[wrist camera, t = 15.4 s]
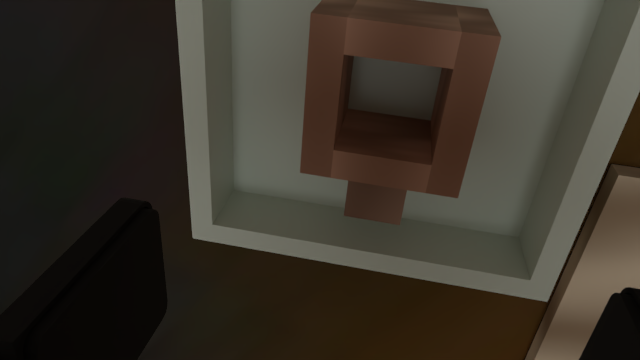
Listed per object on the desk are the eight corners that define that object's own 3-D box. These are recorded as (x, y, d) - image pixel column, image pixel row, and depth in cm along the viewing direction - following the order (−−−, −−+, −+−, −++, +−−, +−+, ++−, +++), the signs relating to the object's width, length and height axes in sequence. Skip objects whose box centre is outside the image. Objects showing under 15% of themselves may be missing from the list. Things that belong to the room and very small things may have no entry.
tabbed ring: (487, 8, 19) (501, 36, 15) (441, 196, 23) (443, 250, 20) (330, -11, 19) (310, 12, 16) (314, 176, 24) (296, 225, 20)
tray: (530, 244, 25) (547, 302, 21) (222, 192, 27) (192, 238, 23) (675, -135, 16) (740, -140, 13) (210, -173, 18) (161, -186, 15)
